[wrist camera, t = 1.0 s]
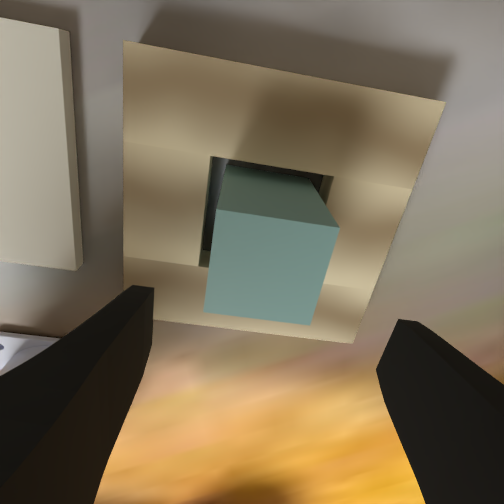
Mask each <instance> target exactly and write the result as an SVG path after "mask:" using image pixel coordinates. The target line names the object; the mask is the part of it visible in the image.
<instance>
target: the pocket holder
mask: <svg viewBox="0 0 504 504" xmlns="http://www.w3.org/2000/svg"><path fill="white" fill-rule="evenodd" d="M445 104H446V102H442V101H437V100H432V99H427V98H422V97H416V96H411V95H406V94H401V93H396V92H390V91H385V90H380V89H375V88H370V87H364V86H359V85H354V84H349V83H344V82H338V81H333V80H328V79H323V78H318V77H312V76H307V75H302V74H297V73H292V72H287V71H281V70H276V69H271V68H266V67H261V66H255V65H250V64H245V63H240V62H235V61H229V60H224V59H219V58H214V57H209V56H203V55H198V54H193V53H188V52H183V51H177V50H172V49H167V48H162V47H157V46H151V45H146V44H141V43H136V42H131V41H125V40H123V291H125V290H126V289H127V288H129V287H130V286H132V285H138V286H146V287H153V288H154V310H153V320H162V321H170V322H178V323H186V324H194V325H203V326H211V327H219V328H227V329H235V330H244V331H252V332H260V333H268V334H276V335H285V336H293V337H301V338H309V339H317V340H326V341H334V342H342V343H350V344H353V341H354V338H355V336H356V333H357V331H358V328H359V326H360V323H361V320H362V318H363V315H364V313H365V310H366V308H367V305H368V302H369V300H370V297H371V295H372V292H373V290H374V287H375V284H376V282H377V279H378V277H379V274H380V271H381V269H382V266H383V264H384V261H385V259H386V256H387V253H388V251H389V248H390V246H391V243H392V241H393V238H394V235H395V233H396V230H397V228H398V225H399V223H400V220H401V217H402V215H403V212H404V210H405V207H406V205H407V202H408V199H409V197H410V194H411V192H412V189H413V187H414V184H415V181H416V179H417V176H418V174H419V171H420V169H421V166H422V163H423V161H424V158H425V156H426V153H427V151H428V148H429V145H430V143H431V140H432V138H433V135H434V133H435V130H436V127H437V125H438V122H439V120H440V117H441V115H442V112H443V109H444V107H445ZM213 156H215V157H221V158H227V159H233V160H239V161H245V162H251V163H257V164H263V165H269V166H275V167H281V168H287V169H293V170H299V171H305V172H311V173H317V174H323V179H322V183H321V186H320V190H319V195H320V197H321V199H322V200H323V202H324V203H325V205H326V207H327V208H328V210H329V211H330V213H331V214H332V216H333V218H334V219H335V221H336V222H337V224H338V226H339V227H340V230H339V233H338V236H337V240H336V243H335V246H334V249H333V253H332V256H331V259H330V262H329V266H328V269H327V272H326V275H325V279H324V282H323V285H322V288H321V292H320V295H319V298H318V301H317V305H316V308H315V311H314V314H313V318H312V321H311V324H310V326H309V325H301V324H293V323H285V322H277V321H269V320H261V319H253V318H245V317H237V316H229V315H221V314H213V313H205V312H203V309H204V302H205V294H206V286H207V278H208V270H209V262H210V255H211V251H206V250H202V248H203V240H204V231H205V222H206V214H207V205H208V196H209V187H210V179H211V170H212V161H213Z"/></svg>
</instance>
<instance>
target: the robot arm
mask: <svg viewBox="0 0 504 504" xmlns="http://www.w3.org/2000/svg"><path fill="white" fill-rule="evenodd" d="M153 310H154V288H153V287H146V286H138V285H132V286H130V287H129V288H127V289H126V290H125V291H123V292H122V293H121V294H120V295H118V296H117V297H116V298H115V299H113V300H112V301H111V302H110V303H108V304H107V305H106V306H105V307H103V308H102V309H101V310H100V311H98V312H97V313H96V314H94V315H93V316H92V317H90V318H89V319H88V320H86V321H85V322H84V323H82V324H81V325H80V326H78V327H77V328H76V329H74V330H73V331H71V332H70V333H68V334H67V335H65V336H64V337H63V338H61V339H60V338H51V337H42V336H34V335H25V334H16V333H7V332H0V504H94V501H95V498H96V494H97V491H98V488H99V485H100V482H101V479H102V476H103V473H104V470H105V467H106V465H107V462H108V459H109V457H110V454H111V452H112V449H113V447H114V444H115V442H116V440H117V437H118V435H119V432H120V430H121V428H122V425H123V423H124V420H125V418H126V416H127V413H128V411H129V408H130V406H131V404H132V401H133V399H134V396H135V394H136V392H137V389H138V387H139V384H140V382H141V379H142V377H143V374H144V370H145V367H146V363H147V360H148V356H149V352H150V349H151V345H152V332H153ZM1 344H2V345H1ZM376 372H377V376H378V380H379V384H380V388H381V391H382V395H383V398H384V402H385V404H386V407H387V409H388V412H389V414H390V417H391V419H392V422H393V424H394V427H395V429H396V432H397V434H398V436H399V439H400V441H401V443H402V446H403V448H404V451H405V453H406V455H407V458H408V460H409V463H410V465H411V467H412V470H413V472H414V474H415V477H416V479H417V482H418V484H419V487H420V490H421V492H422V495H423V498H424V500H425V503H426V504H504V385H503V384H502V383H501V382H499V381H498V380H496V379H495V378H494V377H492V376H491V375H490V374H488V373H487V372H486V371H484V370H483V369H482V368H480V367H479V366H478V365H476V364H475V363H474V362H472V361H471V360H470V359H469V358H467V357H466V356H465V355H463V354H462V353H461V352H459V351H458V350H457V349H455V348H454V347H453V346H452V345H450V344H449V343H448V342H446V341H445V340H444V339H442V338H441V337H440V336H438V335H437V334H435V333H434V332H433V331H431V330H430V329H428V328H427V327H425V326H424V325H422V324H421V323H419V322H417V321H410V320H402V319H398V321H397V323H396V325H395V328H394V330H393V332H392V334H391V337H390V339H389V341H388V343H387V346H386V348H385V350H384V352H383V355H382V357H381V359H380V361H379V364H378V366H377V368H376Z"/></svg>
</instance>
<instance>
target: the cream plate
mask: <svg viewBox="0 0 504 504" xmlns="http://www.w3.org/2000/svg"><path fill="white" fill-rule="evenodd" d="M0 261H3V262H10V263H18V264H25V265H33V266H41V267H48V268H56V269H63V270H71V271H77V270H78V268H79V267H80V266H81V265H82V264H83V248H82V231H81V215H80V198H79V182H78V165H77V149H76V132H75V116H74V100H73V83H72V67H71V50H70V34H69V31H66V30H62V29H58V28H53V27H48V26H42V25H37V24H32V23H27V22H22V21H16V20H11V19H6V18H1V17H0Z"/></svg>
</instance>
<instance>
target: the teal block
mask: <svg viewBox="0 0 504 504" xmlns="http://www.w3.org/2000/svg"><path fill="white" fill-rule="evenodd" d="M339 230H340V227H339V226H338V224H337V222H336V221H335V219H334V218H333V216H332V214H331V213H330V211H329V210H328V208H327V207H326V205H325V203H324V202H323V200H322V199H321V197H320V195H319V194H318V192H317V191H316V189H315V188H314V186H313V184H312V183H311V181H310V180H309V178H305V177H299V176H293V175H287V174H281V173H275V172H269V171H263V170H257V169H250V168H244V167H238V166H232V165H226V169H225V173H224V178H223V182H222V186H221V191H220V195H219V200H218V204H217V208H216V216H215V223H214V231H213V239H212V247H211V255H210V262H209V270H208V278H207V286H206V294H205V302H204V309H203V312H205V313H213V314H221V315H229V316H237V317H245V318H253V319H261V320H269V321H277V322H285V323H293V324H301V325H309V326H310V324H311V321H312V318H313V314H314V311H315V308H316V305H317V301H318V298H319V295H320V292H321V288H322V285H323V282H324V279H325V275H326V272H327V269H328V266H329V262H330V259H331V256H332V253H333V249H334V246H335V243H336V240H337V236H338V233H339Z"/></svg>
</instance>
